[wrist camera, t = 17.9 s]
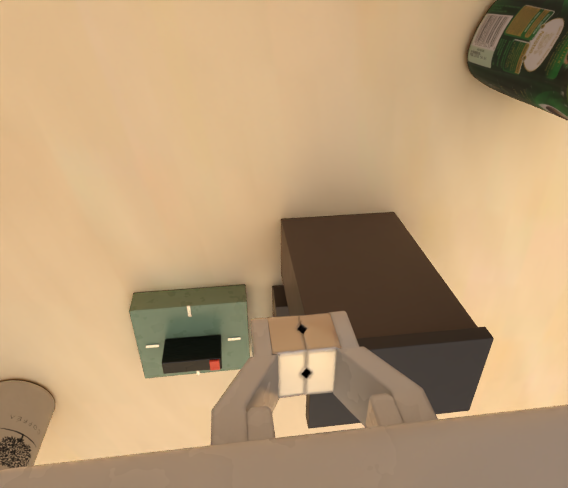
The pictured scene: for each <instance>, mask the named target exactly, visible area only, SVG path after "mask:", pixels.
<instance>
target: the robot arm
mask: <svg viewBox="0 0 568 488" xmlns="http://www.w3.org/2000/svg"><path fill="white" fill-rule="evenodd" d="M251 336H252V355H253V357H249V359H248V360H247V361H246V363H245V364H244V366H243V367H242V368H241V370H240V371H239V373H238V374H237V375H236V377H235V378H234V380H233V381H232V382H231V384H230V385H229V387H228V388H227V389H226V391H225V392H224V394H223V395H222V396H221V398H220V399H219V401H218V402H217V404H216V405H215V406H214V408H213V409H212V416H211V445H210V446H202V447H193V448H184V449H175V450H167V451H158V452H149V453H141V454H132V455H123V456H114V457H105V458H97V459H88V460H79V461H70V462H62V463H53V464H44V465H35V466H27V467H18V468H9V469H0V488H568V405H560V406H552V407H543V408H534V409H525V410H517V411H508V412H499V413H490V414H482V415H473V416H465V417H456V418H447V419H437V417H436V414H435V412H434V410H433V408H432V406H431V404H430V402H429V400H428V398H427V396H426V394H425V392H424V390H423V388H421V387H420V386H419V385H417V384H416V383H414V382H413V381H412V380H410V379H409V378H407V377H406V376H405V375H403V374H402V373H400V372H399V371H398V370H396V369H395V368H393V367H392V366H391V365H389V364H388V363H386V362H385V361H384V360H382V359H381V358H379V357H378V356H377V355H375V354H374V353H372V352H371V351H370V350H368V349H367V348H365V347H359V344H358V342H357V339H356V337H355V334H354V331H353V329H352V326H351V323H350V321H349V318H348V316H347V313H346V312H345V311H338V312H329V313H320V314H309V315H299V316H283V317H267V318H255V319H251ZM320 393H333V394H334V395H335V396H336V397H337V398H338V399H339V400H340V401H341V402H342V404H343V405H344V406H345V407H346V408H347V409H348V410H349V411H350V412H351V413H352V414H353V415H354V416H355V417H356V418H357V419H358V420H359V421H360V422H361V423H362V424H363V425H364V426H365V428H359V429H350V430H341V431H333V432H324V433H315V434H307V435H298V436H289V437H280V438H275V432H274V425H273V417H272V412H273V410H274V408H275V406H276V404H277V402H278V400H279V398H283V397H291V396H299V395H307V394H320Z"/></svg>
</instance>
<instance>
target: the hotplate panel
mask: <svg viewBox="0 0 568 488" xmlns="http://www.w3.org/2000/svg"><path fill="white" fill-rule="evenodd" d="M129 313H130V317H131V321H132V325H133V329H134V334H135V338H136V342H137V346H138V350H139V354H140V359H141V363H142V367H143V371H144V375H145V378H154V377H164V376H174V375H185V374H195V373H197V375H200V373H206V372H216V371H226V370H237V369H241V368H242V367H243V366H244V364H245V363H246V361H247V360H248V359H249V357H250V352H249V334H248V316H247V300H246V288H245V285H234V286H221V287H207V288H194V289H181V290H168V291H155V292H141V293H134V294H133V298H132V302H131V306H130V310H129ZM211 335H221V341H222V369H220V370H213V371H210V370H201V371H190V372H179V373H168V374H164V373H163V368H162V356H163V349H164V342H165V339H174V338H186V337H199V336H211Z"/></svg>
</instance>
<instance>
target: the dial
mask: <svg viewBox="0 0 568 488" xmlns="http://www.w3.org/2000/svg"><path fill="white" fill-rule="evenodd" d="M162 368H163V373H164V374H168V373H179V372H190V371H201V370H210V371H213V370H220V369H222V341H221V335H211V336H199V337H186V338H174V339H165V342H164V349H163V356H162Z"/></svg>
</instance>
